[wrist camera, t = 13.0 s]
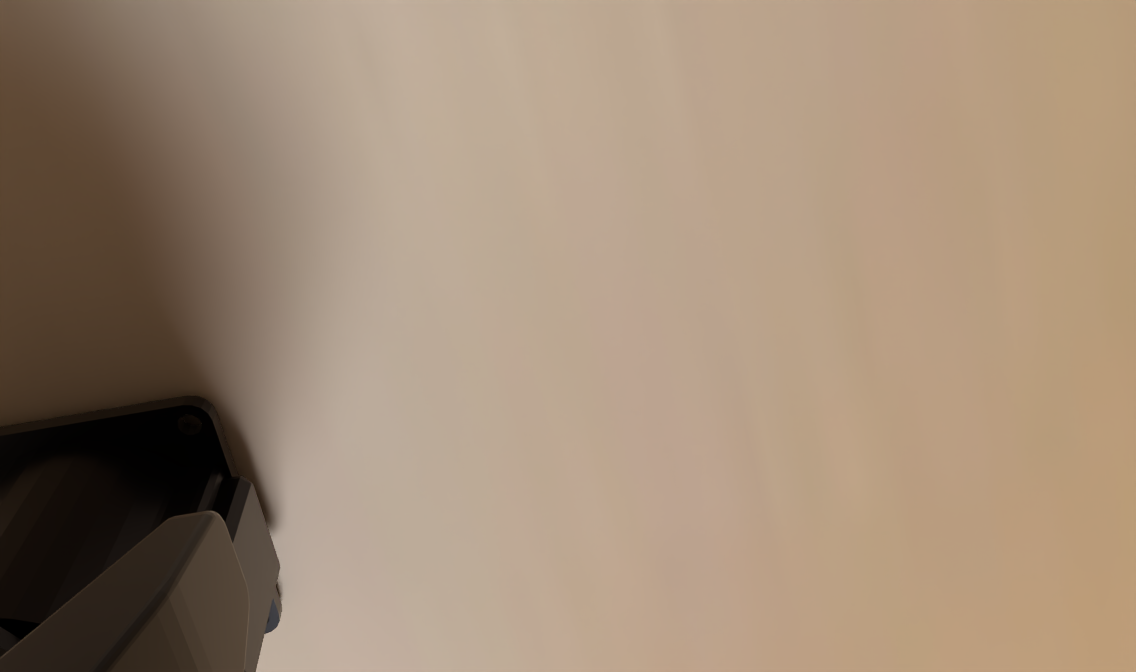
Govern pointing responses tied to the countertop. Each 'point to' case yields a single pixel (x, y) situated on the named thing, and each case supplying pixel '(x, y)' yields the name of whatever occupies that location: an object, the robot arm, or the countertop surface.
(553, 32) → the countertop surface
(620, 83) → the countertop surface
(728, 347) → the countertop surface
